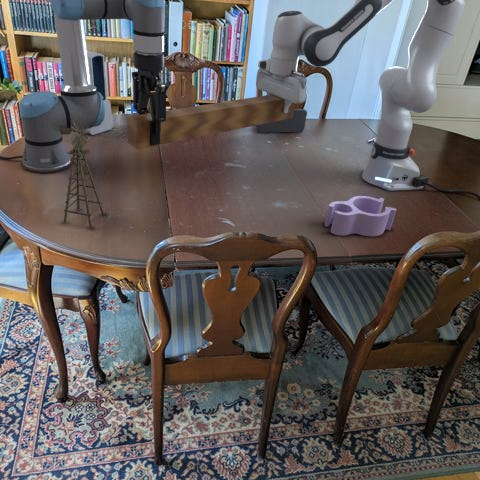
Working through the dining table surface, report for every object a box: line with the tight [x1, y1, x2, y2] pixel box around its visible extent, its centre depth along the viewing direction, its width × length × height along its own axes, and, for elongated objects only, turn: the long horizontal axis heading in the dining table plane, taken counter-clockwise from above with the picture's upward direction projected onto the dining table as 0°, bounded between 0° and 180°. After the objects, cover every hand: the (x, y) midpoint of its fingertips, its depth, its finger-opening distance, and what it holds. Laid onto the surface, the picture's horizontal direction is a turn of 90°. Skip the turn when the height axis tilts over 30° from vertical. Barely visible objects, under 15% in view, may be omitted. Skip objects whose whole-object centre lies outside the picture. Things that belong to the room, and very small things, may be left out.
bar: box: [126, 94, 296, 150], centre depth 142 cm, size 60×5×7 cm, turn 131°
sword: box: [367, 137, 376, 144], centre depth 215 cm, size 31×3×1 cm, turn 126°
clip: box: [324, 195, 398, 237], centre depth 141 cm, size 20×12×7 cm, turn 109°
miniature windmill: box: [59, 115, 105, 229], centre depth 124 cm, size 9×8×30 cm
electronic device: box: [80, 50, 114, 136], centre depth 182 cm, size 12×8×30 cm, turn 148°
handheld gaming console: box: [255, 108, 308, 134], centre depth 206 cm, size 23×3×10 cm, turn 108°
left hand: (149, 140), depth 129 cm, fingers closed on bar, 5 cm apart
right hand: (277, 109), depth 157 cm, fingers closed on bar, 5 cm apart
